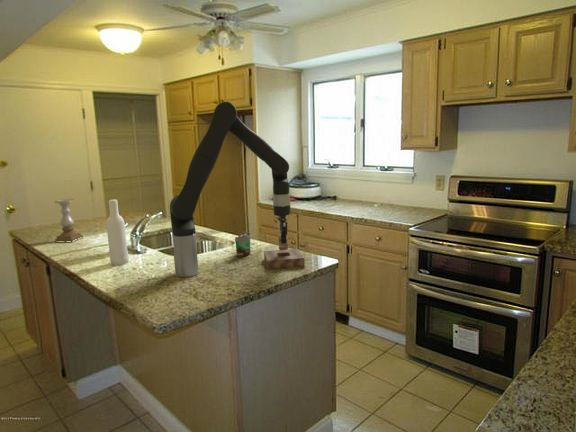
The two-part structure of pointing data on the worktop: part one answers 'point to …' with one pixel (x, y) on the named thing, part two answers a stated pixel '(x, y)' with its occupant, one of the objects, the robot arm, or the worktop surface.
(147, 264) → the worktop surface
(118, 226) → the bottle
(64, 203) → the candle holder
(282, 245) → the dowel
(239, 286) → the worktop surface
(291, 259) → the socket block
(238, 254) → the food container
